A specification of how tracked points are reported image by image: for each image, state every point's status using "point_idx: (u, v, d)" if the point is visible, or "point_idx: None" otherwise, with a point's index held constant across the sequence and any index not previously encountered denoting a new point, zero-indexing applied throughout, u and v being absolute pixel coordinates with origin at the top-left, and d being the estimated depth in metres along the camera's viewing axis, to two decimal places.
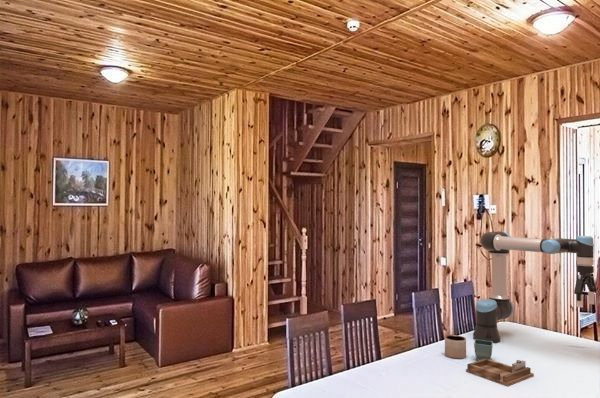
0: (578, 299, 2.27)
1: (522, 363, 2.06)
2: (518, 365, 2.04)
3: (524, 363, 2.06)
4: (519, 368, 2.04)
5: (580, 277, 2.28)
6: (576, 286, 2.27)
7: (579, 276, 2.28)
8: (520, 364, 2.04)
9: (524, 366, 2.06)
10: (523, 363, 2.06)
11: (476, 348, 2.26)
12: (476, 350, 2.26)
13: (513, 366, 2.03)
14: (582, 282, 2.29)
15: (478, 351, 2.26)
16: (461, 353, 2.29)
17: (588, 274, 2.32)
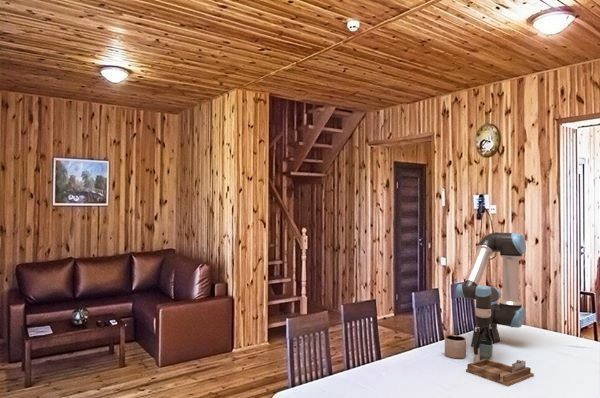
0: (475, 353, 2.24)
1: (522, 363, 2.06)
2: (518, 365, 2.04)
3: (524, 363, 2.06)
4: (519, 368, 2.04)
5: (476, 330, 2.24)
6: (473, 339, 2.24)
7: (475, 329, 2.25)
8: (520, 364, 2.04)
9: (524, 366, 2.06)
10: (523, 363, 2.06)
11: None
12: None
13: (513, 366, 2.03)
14: (479, 334, 2.26)
15: None
16: (461, 353, 2.29)
17: (486, 325, 2.28)
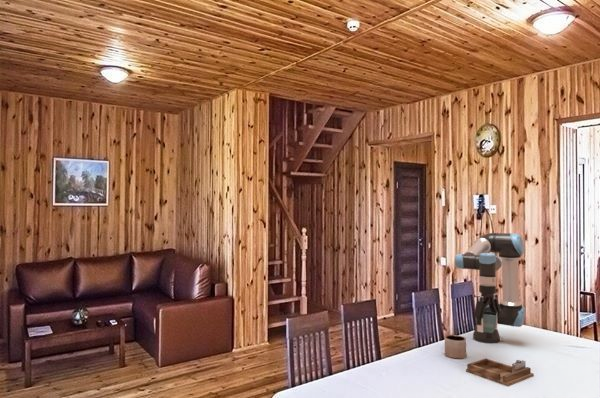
0: (478, 323, 2.10)
1: (522, 363, 2.06)
2: (518, 365, 2.04)
3: (524, 363, 2.06)
4: (519, 368, 2.04)
5: (480, 299, 2.10)
6: (476, 309, 2.10)
7: (479, 298, 2.11)
8: (520, 364, 2.04)
9: (524, 366, 2.06)
10: (523, 363, 2.06)
11: None
12: None
13: (513, 366, 2.03)
14: (483, 304, 2.12)
15: None
16: (461, 353, 2.29)
17: (490, 294, 2.14)
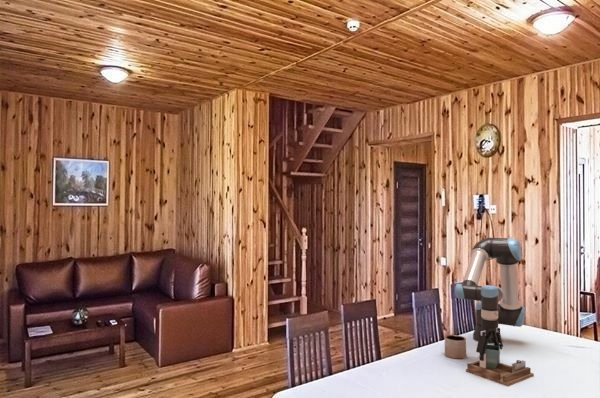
0: (481, 359, 2.05)
1: (522, 363, 2.06)
2: (518, 365, 2.04)
3: (524, 363, 2.06)
4: (519, 368, 2.04)
5: (482, 334, 2.05)
6: (478, 344, 2.05)
7: (481, 332, 2.06)
8: (520, 364, 2.04)
9: (524, 366, 2.06)
10: (523, 363, 2.06)
11: None
12: None
13: (513, 366, 2.03)
14: (485, 338, 2.07)
15: None
16: (461, 353, 2.29)
17: (493, 328, 2.09)
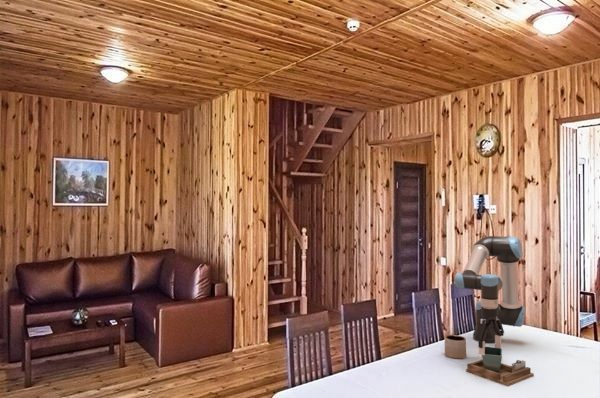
0: (479, 346, 2.05)
1: (522, 363, 2.06)
2: (518, 365, 2.04)
3: (524, 363, 2.06)
4: (519, 368, 2.04)
5: (482, 322, 2.05)
6: (477, 332, 2.05)
7: (481, 320, 2.06)
8: (520, 364, 2.04)
9: (524, 366, 2.06)
10: (523, 363, 2.06)
11: (484, 358, 2.07)
12: (484, 361, 2.07)
13: (513, 366, 2.03)
14: (485, 327, 2.07)
15: (486, 362, 2.07)
16: (461, 353, 2.29)
17: (493, 317, 2.09)
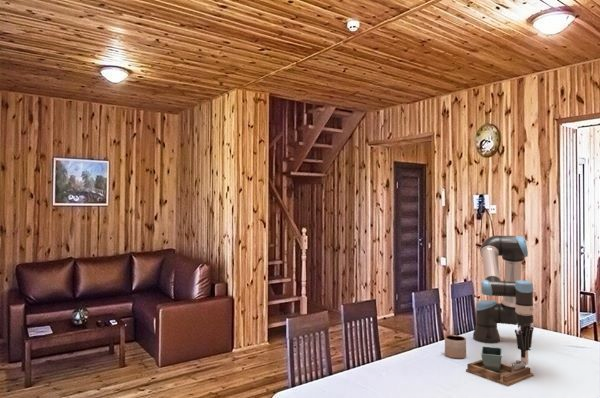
0: (522, 355, 2.07)
1: (522, 363, 2.05)
2: (518, 365, 2.03)
3: (524, 363, 2.06)
4: (519, 368, 2.04)
5: (518, 333, 2.04)
6: (518, 342, 2.06)
7: (517, 332, 2.05)
8: (520, 364, 2.04)
9: (524, 366, 2.06)
10: (523, 363, 2.06)
11: (484, 358, 2.07)
12: (484, 361, 2.07)
13: (513, 366, 2.02)
14: (522, 335, 2.07)
15: (486, 362, 2.07)
16: (461, 353, 2.29)
17: None
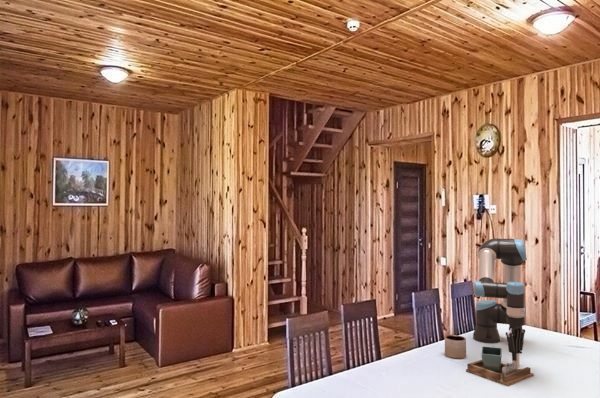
0: (513, 359, 2.03)
1: (513, 366, 2.01)
2: (508, 368, 1.99)
3: (515, 366, 2.02)
4: (510, 371, 2.00)
5: (509, 336, 2.00)
6: (509, 345, 2.02)
7: (508, 335, 2.00)
8: (511, 367, 2.00)
9: (515, 369, 2.02)
10: (514, 366, 2.01)
11: (484, 358, 2.07)
12: (484, 361, 2.07)
13: (503, 369, 1.98)
14: (514, 338, 2.03)
15: (486, 362, 2.07)
16: (461, 353, 2.29)
17: None
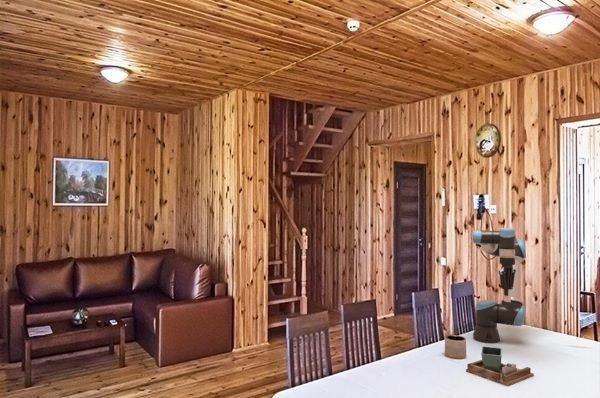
0: (505, 294, 2.32)
1: (512, 366, 2.01)
2: (508, 368, 1.99)
3: (515, 366, 2.02)
4: (510, 371, 1.99)
5: (501, 273, 2.29)
6: (501, 282, 2.31)
7: (500, 272, 2.30)
8: (510, 367, 2.00)
9: (515, 369, 2.02)
10: (514, 366, 2.01)
11: (484, 358, 2.07)
12: (484, 361, 2.07)
13: (503, 370, 1.98)
14: (505, 276, 2.32)
15: (486, 362, 2.07)
16: (461, 353, 2.29)
17: None
